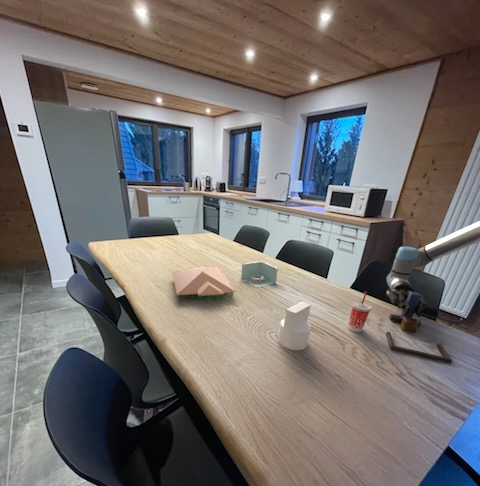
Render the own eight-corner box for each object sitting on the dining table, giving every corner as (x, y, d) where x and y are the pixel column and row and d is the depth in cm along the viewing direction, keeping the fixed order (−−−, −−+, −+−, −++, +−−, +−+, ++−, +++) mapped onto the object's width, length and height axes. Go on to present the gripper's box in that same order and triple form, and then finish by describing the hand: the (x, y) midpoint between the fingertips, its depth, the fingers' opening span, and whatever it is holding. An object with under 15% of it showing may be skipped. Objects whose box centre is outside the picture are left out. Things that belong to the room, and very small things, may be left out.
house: (177, 305, 97) (177, 285, 94) (171, 275, 126) (171, 258, 122) (237, 302, 104) (238, 282, 101) (218, 273, 132) (219, 258, 129)
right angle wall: (241, 278, 128) (242, 263, 125) (259, 275, 135) (261, 261, 132) (256, 287, 120) (258, 271, 117) (275, 283, 127) (278, 268, 123)
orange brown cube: (412, 328, 95) (416, 318, 93) (415, 333, 92) (419, 323, 90) (400, 325, 96) (403, 316, 94) (402, 331, 93) (406, 321, 91)
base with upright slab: (297, 353, 76) (304, 317, 70) (272, 340, 81) (277, 305, 76) (312, 342, 82) (320, 307, 77) (288, 330, 87) (294, 297, 82)
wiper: (418, 322, 98) (430, 294, 93) (420, 326, 96) (432, 297, 91) (389, 316, 101) (399, 289, 96) (390, 320, 99) (400, 292, 94)
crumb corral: (439, 346, 85) (441, 343, 85) (450, 363, 77) (452, 360, 76) (386, 334, 90) (387, 331, 89) (390, 349, 81) (391, 346, 81)
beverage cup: (367, 330, 91) (379, 293, 85) (358, 335, 88) (370, 296, 82) (351, 322, 96) (362, 286, 90) (342, 326, 92) (352, 290, 86)
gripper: (419, 301, 111) (436, 327, 90) (377, 293, 115) (385, 316, 95) (426, 284, 107) (445, 307, 87) (383, 277, 112) (392, 297, 92)
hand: (414, 312), depth 91 cm, fingers closed on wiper, 3 cm apart
